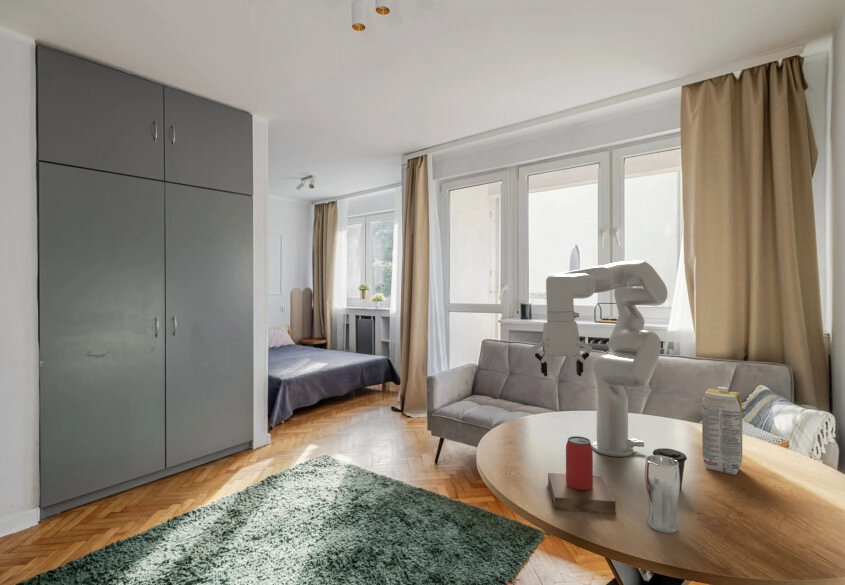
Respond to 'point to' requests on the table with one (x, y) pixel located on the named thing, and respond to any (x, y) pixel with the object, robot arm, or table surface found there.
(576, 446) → the beer can
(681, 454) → the coffee cup
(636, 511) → the table surface
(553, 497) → the walnut base
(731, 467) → the juice carton
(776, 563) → the table surface
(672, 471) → the beer glass
